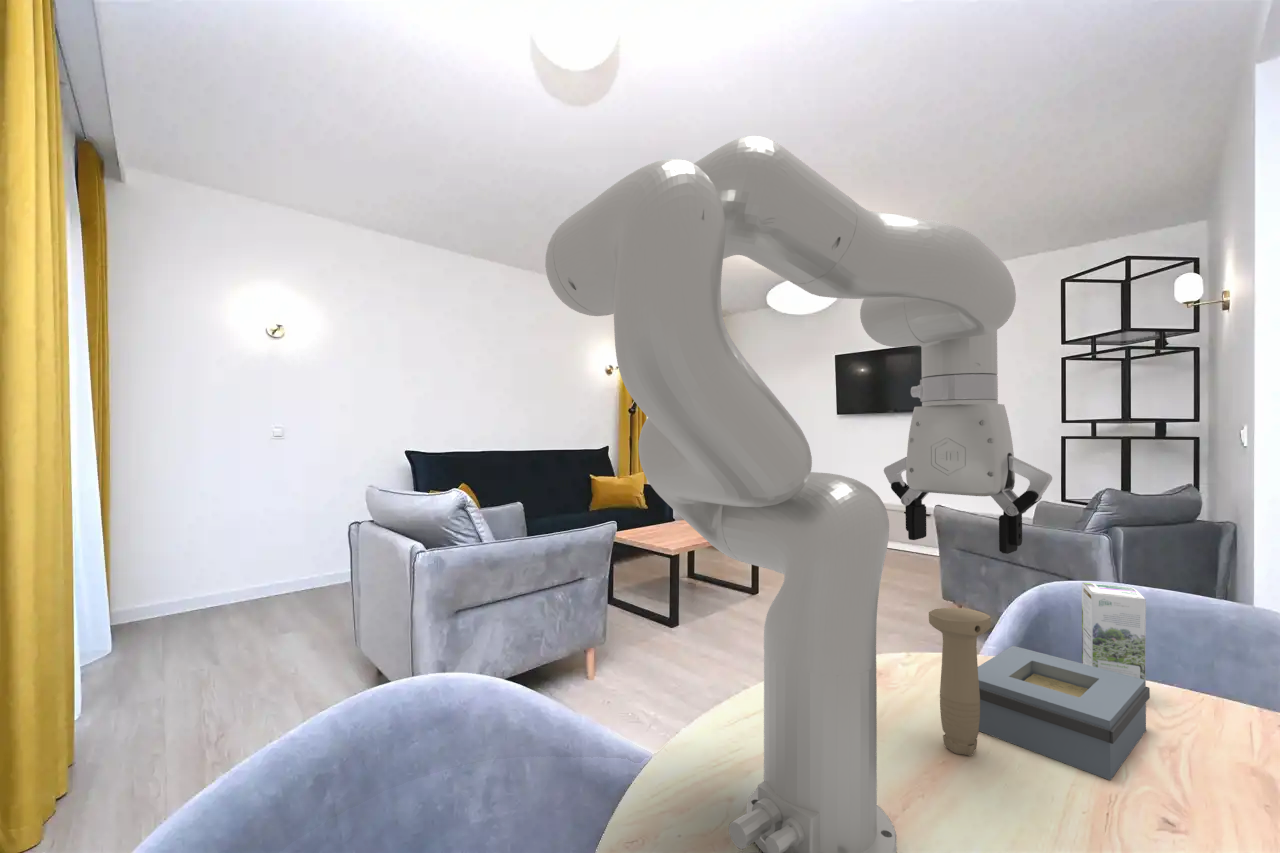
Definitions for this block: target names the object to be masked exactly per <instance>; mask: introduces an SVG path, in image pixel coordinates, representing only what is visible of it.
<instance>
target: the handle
mask: <svg viewBox="0 0 1280 853" xmlns="http://www.w3.org/2000/svg"><path fill="white" fill-rule="evenodd" d="M991 618H992V617H991V616H990V615H989V614H987V613H985V612H982V611H979V610H975V609H971V608H966V607H964V608H963V607H942V608H935V609H932V610H930V611H928V623H929V624H930V625H931V626H932V627H933V629H936V630H938V631H939V632H940V633H941V634H942V653H941V669H940V670H941V671H940V682H939V683H940V686H939V709H940V721H941V722H940V723H941V727H942V731H943V733H944V734H942V740H943V745H944V747H945V748H946V749H949V750H950V751H951V752H953V754H956V755H966V756H968V757H969V756H973V755H974V753H975V752H976V750H977V748H978V747H977V746H978V737H979V736H978V735H979V732H980V731H979V722H980V692H979V679H978V666H979V665H978V653H977V650H978V648H977V640H978V637H979V636H981V635H983V634H985V633H986V632H988V631H989V630H990V628H991V626H992V625H991V623H992V619H991Z"/></svg>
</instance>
